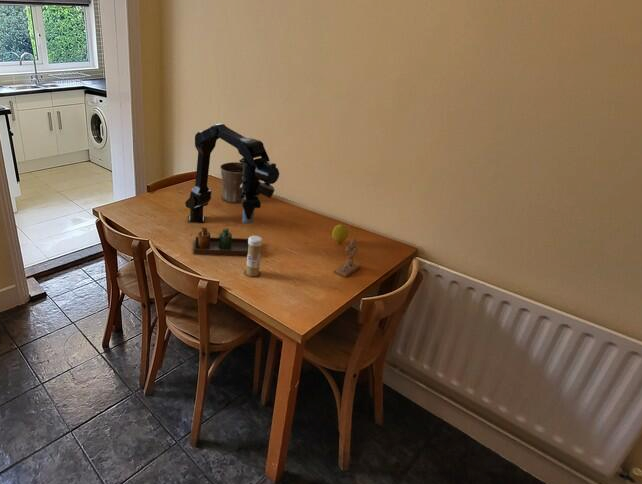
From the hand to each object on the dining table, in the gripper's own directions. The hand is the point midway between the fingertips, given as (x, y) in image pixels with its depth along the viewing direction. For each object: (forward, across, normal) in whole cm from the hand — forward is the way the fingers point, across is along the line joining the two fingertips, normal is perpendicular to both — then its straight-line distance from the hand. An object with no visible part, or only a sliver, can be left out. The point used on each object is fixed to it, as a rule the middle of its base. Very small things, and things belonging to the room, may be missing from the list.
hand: (248, 216), depth 153 cm
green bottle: (+12, -3, +8) cm, 15 cm away
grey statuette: (+12, -16, -34) cm, 39 cm away
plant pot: (+12, +49, +2) cm, 50 cm away
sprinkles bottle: (+12, -20, -1) cm, 24 cm away
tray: (+12, -3, +8) cm, 15 cm away
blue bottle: (+2, 0, 0) cm, 2 cm away
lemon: (+12, +4, -36) cm, 38 cm away
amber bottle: (+12, -3, +16) cm, 20 cm away
